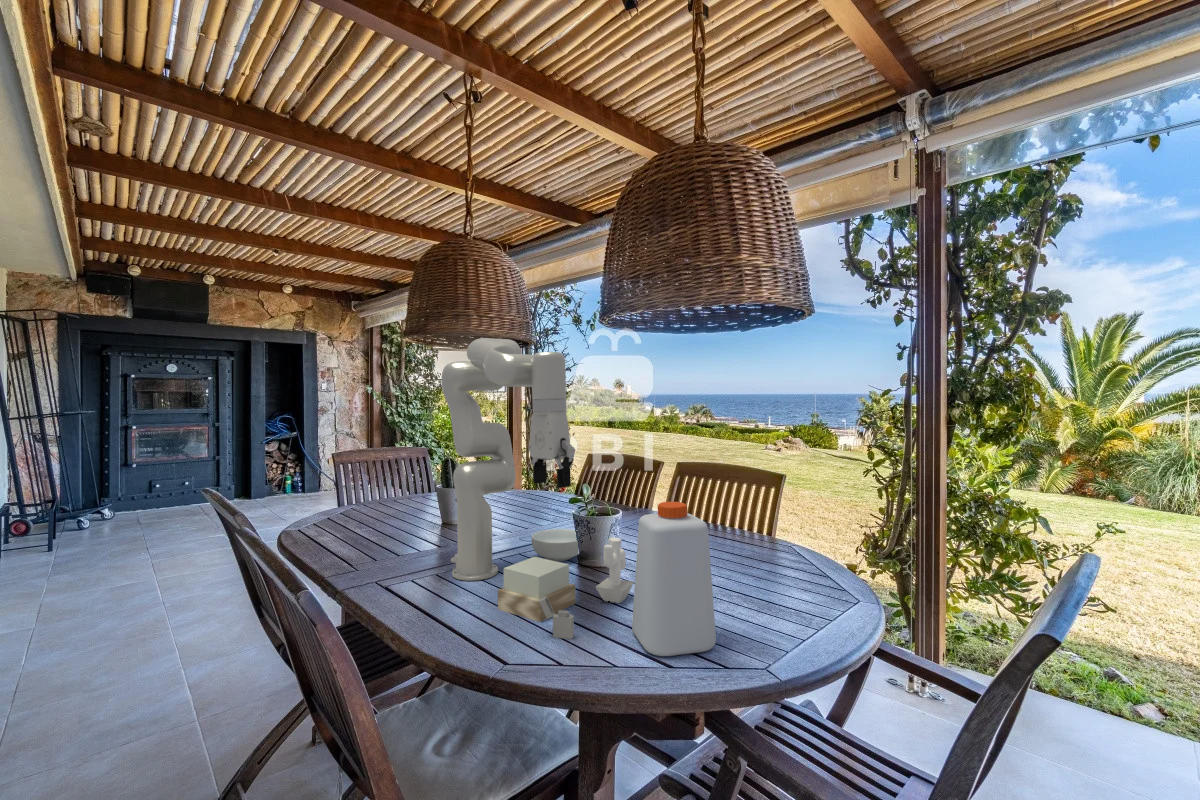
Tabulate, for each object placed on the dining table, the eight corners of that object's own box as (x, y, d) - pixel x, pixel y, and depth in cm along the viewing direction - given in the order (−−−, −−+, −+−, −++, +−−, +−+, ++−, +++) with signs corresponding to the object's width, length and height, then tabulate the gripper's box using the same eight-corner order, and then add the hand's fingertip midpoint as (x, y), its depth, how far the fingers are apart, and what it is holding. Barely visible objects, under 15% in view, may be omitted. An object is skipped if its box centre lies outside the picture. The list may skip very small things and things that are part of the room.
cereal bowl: (578, 567, 161) (578, 543, 160) (524, 564, 164) (523, 540, 164) (591, 551, 177) (591, 529, 177) (541, 548, 180) (541, 527, 180)
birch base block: (498, 611, 130) (497, 590, 130) (534, 594, 141) (534, 574, 141) (540, 624, 123) (539, 601, 123) (575, 605, 134) (575, 584, 133)
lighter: (574, 635, 116) (573, 597, 116) (572, 639, 114) (571, 600, 114) (541, 632, 117) (541, 595, 117) (539, 636, 116) (538, 598, 116)
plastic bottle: (649, 661, 105) (649, 514, 104) (627, 628, 119) (626, 499, 119) (723, 652, 108) (723, 509, 108) (692, 621, 123) (692, 495, 122)
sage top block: (503, 589, 131) (503, 568, 131) (534, 576, 140) (534, 556, 140) (538, 599, 124) (538, 576, 124) (569, 584, 133) (568, 564, 133)
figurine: (635, 594, 139) (635, 535, 139) (621, 608, 130) (621, 544, 130) (609, 590, 142) (608, 532, 142) (593, 603, 133) (593, 541, 133)
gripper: (515, 408, 128) (517, 483, 127) (557, 407, 114) (559, 490, 114) (543, 408, 132) (545, 479, 132) (586, 406, 119) (588, 486, 118)
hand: (551, 484), depth 123 cm, fingers open, 9 cm apart
